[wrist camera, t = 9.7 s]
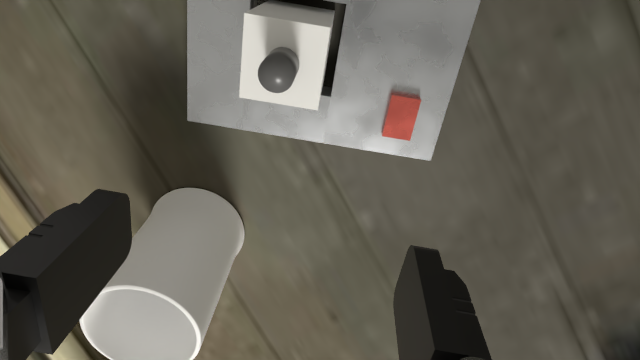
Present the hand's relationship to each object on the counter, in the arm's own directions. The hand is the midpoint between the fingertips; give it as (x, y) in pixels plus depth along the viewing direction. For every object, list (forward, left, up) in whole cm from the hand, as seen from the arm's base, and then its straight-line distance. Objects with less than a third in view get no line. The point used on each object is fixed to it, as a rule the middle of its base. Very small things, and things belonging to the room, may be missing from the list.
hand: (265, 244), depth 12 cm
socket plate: (0, -2, -21) cm, 21 cm away
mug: (+10, +17, -21) cm, 29 cm away
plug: (+2, -2, -21) cm, 21 cm away
